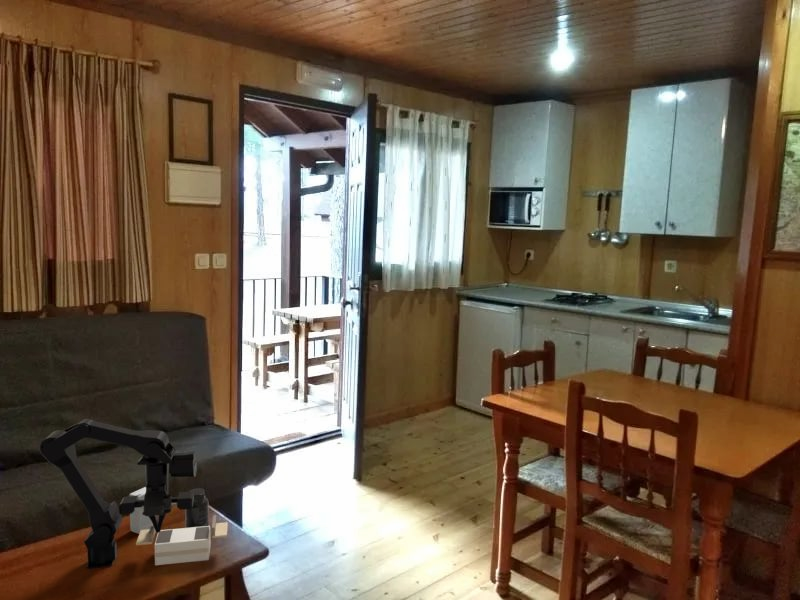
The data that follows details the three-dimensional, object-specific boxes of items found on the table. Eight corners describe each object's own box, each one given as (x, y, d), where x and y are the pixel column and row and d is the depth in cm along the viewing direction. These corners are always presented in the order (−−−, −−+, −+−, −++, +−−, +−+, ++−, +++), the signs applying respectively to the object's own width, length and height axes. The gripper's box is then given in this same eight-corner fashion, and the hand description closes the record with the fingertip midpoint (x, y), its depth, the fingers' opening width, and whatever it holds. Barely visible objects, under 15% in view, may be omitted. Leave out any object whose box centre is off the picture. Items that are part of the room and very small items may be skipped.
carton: (154, 565, 168) (154, 544, 167) (159, 550, 176) (158, 530, 175) (208, 560, 171) (208, 539, 171) (210, 545, 179) (210, 525, 178)
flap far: (211, 538, 171) (211, 527, 171) (213, 525, 178) (213, 515, 178) (226, 536, 172) (226, 526, 172) (227, 523, 179) (227, 514, 179)
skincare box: (146, 523, 192) (145, 485, 190) (156, 526, 189) (155, 488, 188) (129, 531, 186) (128, 493, 185) (139, 535, 184) (138, 496, 183)
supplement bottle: (180, 530, 187) (179, 493, 186) (197, 521, 193) (196, 484, 192) (197, 536, 184) (196, 498, 183) (213, 526, 190) (213, 489, 189)
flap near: (155, 530, 175) (155, 520, 174) (151, 543, 167) (151, 533, 167) (140, 531, 174) (140, 521, 173) (136, 545, 166) (135, 534, 166)
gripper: (113, 493, 159) (115, 550, 161) (189, 487, 164) (190, 543, 166) (122, 476, 170) (124, 529, 172) (193, 471, 174) (194, 523, 176)
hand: (158, 531), depth 171 cm, fingers closed
